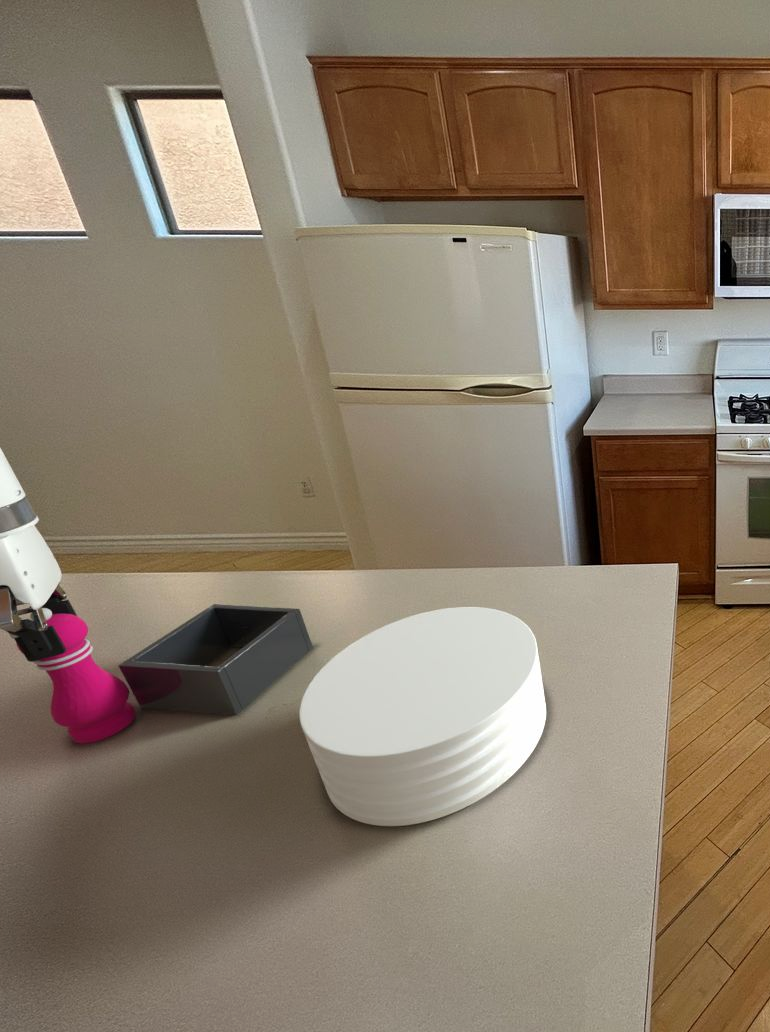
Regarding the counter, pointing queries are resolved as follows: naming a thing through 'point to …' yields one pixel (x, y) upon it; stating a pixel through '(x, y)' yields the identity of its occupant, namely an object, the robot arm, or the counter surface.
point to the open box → (187, 649)
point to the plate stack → (425, 714)
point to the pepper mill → (83, 685)
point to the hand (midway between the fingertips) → (55, 641)
